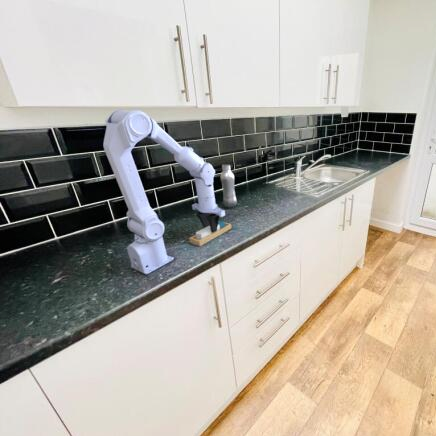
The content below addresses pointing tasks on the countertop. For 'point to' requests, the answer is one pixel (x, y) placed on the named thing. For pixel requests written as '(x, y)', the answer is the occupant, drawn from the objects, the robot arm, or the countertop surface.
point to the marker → (208, 230)
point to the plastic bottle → (228, 186)
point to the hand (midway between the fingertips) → (211, 230)
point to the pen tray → (211, 236)
